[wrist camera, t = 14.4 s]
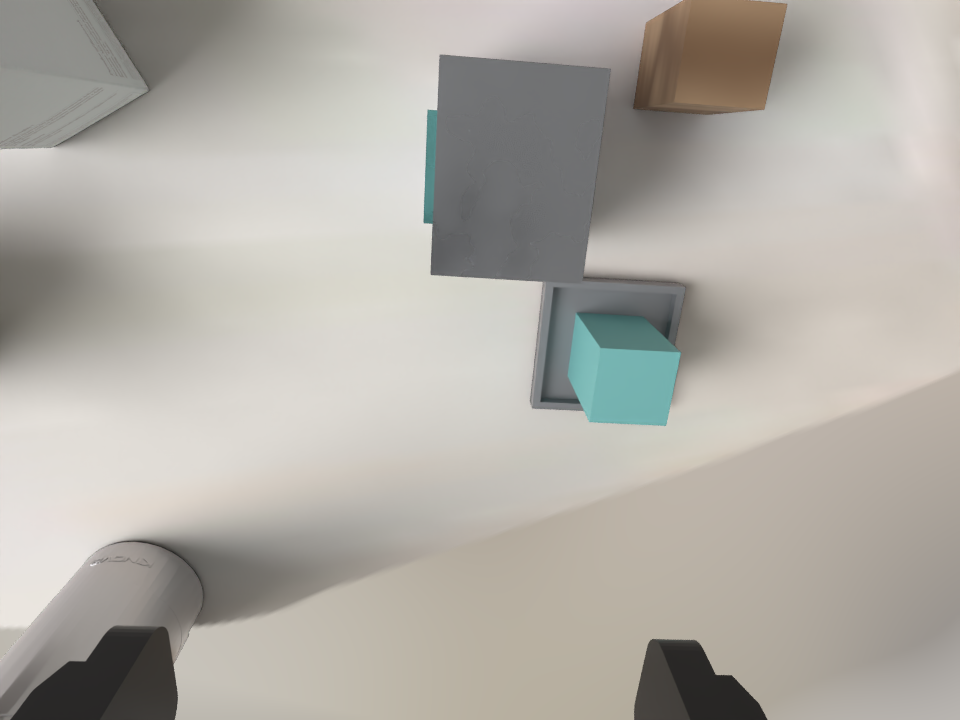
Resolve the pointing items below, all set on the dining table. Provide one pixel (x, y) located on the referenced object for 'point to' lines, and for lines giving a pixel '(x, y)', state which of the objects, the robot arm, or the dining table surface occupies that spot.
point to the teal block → (622, 369)
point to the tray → (595, 297)
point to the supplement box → (59, 71)
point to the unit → (513, 168)
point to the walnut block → (709, 57)
